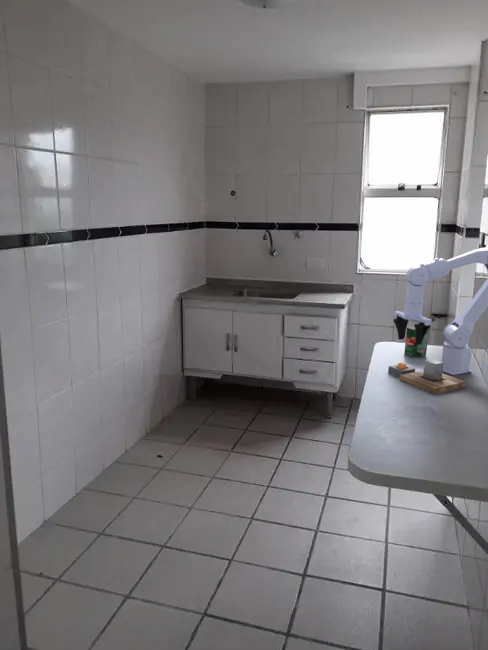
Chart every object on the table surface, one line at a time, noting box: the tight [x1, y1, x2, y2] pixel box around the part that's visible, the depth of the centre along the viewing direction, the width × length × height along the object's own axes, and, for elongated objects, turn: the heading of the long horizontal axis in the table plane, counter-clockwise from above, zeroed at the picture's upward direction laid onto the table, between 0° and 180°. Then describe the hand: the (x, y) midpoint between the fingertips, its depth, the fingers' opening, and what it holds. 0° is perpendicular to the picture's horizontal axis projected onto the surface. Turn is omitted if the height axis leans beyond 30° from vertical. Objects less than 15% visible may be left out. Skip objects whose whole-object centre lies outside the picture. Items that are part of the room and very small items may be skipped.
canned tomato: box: [403, 324, 430, 360], centre depth 206 cm, size 8×8×11 cm
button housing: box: [387, 364, 416, 378], centre depth 183 cm, size 6×6×2 cm
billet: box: [423, 358, 444, 382], centre depth 174 cm, size 4×4×7 cm
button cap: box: [397, 362, 408, 369], centre depth 183 cm, size 3×3×2 cm
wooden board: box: [399, 370, 467, 395], centre depth 174 cm, size 14×14×2 cm
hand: (409, 341), depth 189 cm, fingers open, 7 cm apart
